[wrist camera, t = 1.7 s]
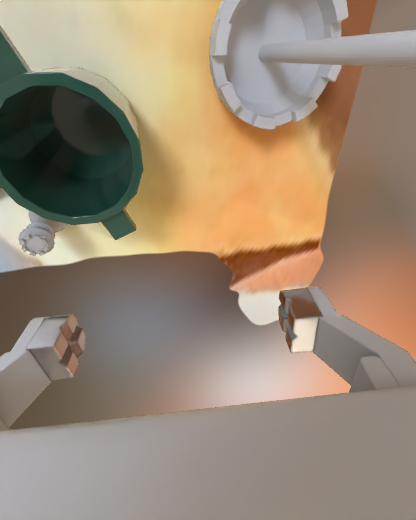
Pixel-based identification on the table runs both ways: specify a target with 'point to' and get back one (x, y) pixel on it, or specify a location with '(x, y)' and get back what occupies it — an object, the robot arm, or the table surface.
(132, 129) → the tin
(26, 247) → the rook chess piece
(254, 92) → the flag stand
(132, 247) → the table surface
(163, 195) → the table surface
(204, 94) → the table surface
